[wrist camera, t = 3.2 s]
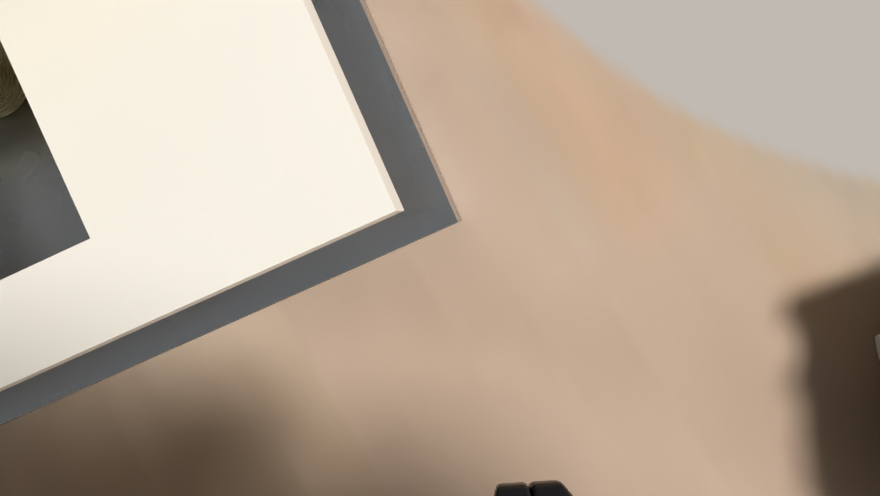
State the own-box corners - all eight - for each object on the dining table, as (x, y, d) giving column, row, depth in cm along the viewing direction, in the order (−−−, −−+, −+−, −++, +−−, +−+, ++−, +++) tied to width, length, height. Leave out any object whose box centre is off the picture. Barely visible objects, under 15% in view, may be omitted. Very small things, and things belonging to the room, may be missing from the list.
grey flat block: (221, -323, 17) (186, -392, 15) (461, 220, 18) (457, 222, 16) (-335, -28, 19) (-433, -56, 17) (-104, 471, 19) (-174, 501, 17)
